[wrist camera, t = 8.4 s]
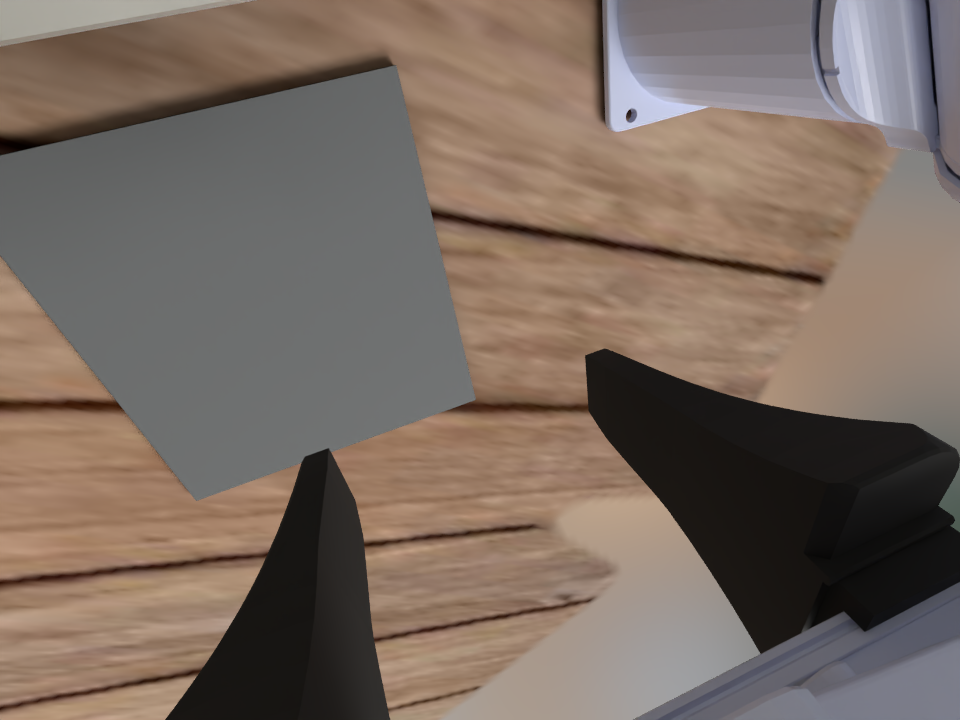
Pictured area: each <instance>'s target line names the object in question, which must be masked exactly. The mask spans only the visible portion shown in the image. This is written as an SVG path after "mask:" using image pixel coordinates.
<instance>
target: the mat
mask: <svg viewBox="0 0 960 720" xmlns="http://www.w3.org/2000/svg"><path fill="white" fill-rule="evenodd" d="M0 256H1V257H2V258H3V259H4V261H5V262H6V263H7V264H8V266H9V267H10V268H11V269H12V271H13V272H14V273H15V275H16V276H17V277H18V278H19V280H20V281H21V282H22V283H23V285H24V286H25V287H26V288H27V290H28V291H29V292H30V293H31V295H32V296H33V297H34V298H35V300H36V301H37V302H38V303H39V305H40V306H41V307H42V308H43V310H44V311H45V312H46V313H47V315H48V316H49V317H50V318H51V320H52V321H53V322H54V323H55V325H56V326H57V327H58V328H59V330H60V331H61V332H62V333H63V335H64V336H65V337H66V338H67V340H68V341H69V342H70V343H71V345H72V346H73V347H74V348H75V350H76V351H77V352H78V353H79V355H80V356H81V357H82V358H83V360H84V361H85V362H86V363H87V365H88V366H89V367H90V368H91V370H92V371H93V372H94V373H95V375H96V376H97V377H98V378H99V380H100V381H101V382H102V383H103V385H104V386H105V387H106V388H107V390H108V391H109V392H110V393H111V395H112V396H113V397H114V398H115V400H116V401H117V402H118V403H119V405H120V406H121V407H122V408H123V410H124V411H125V412H126V413H127V415H128V416H129V417H130V418H131V420H132V421H133V422H134V423H135V425H136V426H137V427H138V428H139V430H140V431H141V432H142V433H143V435H144V436H145V437H146V439H147V440H148V441H149V442H150V444H151V445H152V446H153V447H154V449H155V450H156V451H157V452H158V454H159V455H160V456H161V457H162V459H163V460H164V461H165V462H166V464H167V465H168V466H169V467H170V469H171V470H172V471H173V472H174V474H175V475H176V476H177V477H178V479H179V480H180V481H181V482H182V484H183V485H184V486H185V487H186V489H187V490H188V491H189V492H190V494H191V495H192V496H193V497H194V499H195V500H196V501H197V500H200V499H203V498H206V497H208V496H211V495H214V494H217V493H219V492H222V491H225V490H228V489H230V488H233V487H236V486H239V485H241V484H244V483H247V482H250V481H252V480H255V479H258V478H261V477H264V476H266V475H269V474H272V473H275V472H277V471H280V470H283V469H286V468H288V467H291V466H294V465H297V464H299V463H302V461H303V459H304V457H305V456H308V455H311V454H313V453H316V452H319V451H322V450H324V449H327V448H329V449H330V451H331V452H333V451H335V450H338V449H341V448H344V447H346V446H349V445H352V444H355V443H357V442H360V441H363V440H366V439H368V438H371V437H374V436H377V435H380V434H382V433H385V432H388V431H391V430H393V429H396V428H399V427H402V426H404V425H407V424H410V423H413V422H415V421H418V420H421V419H424V418H426V417H429V416H432V415H435V414H438V413H440V412H443V411H446V410H449V409H451V408H454V407H457V406H460V405H462V404H465V403H468V402H471V401H473V400H476V399H475V394H474V390H473V386H472V382H471V378H470V374H469V369H468V365H467V361H466V357H465V353H464V348H463V344H462V340H461V336H460V332H459V327H458V323H457V319H456V315H455V311H454V306H453V302H452V298H451V294H450V290H449V285H448V281H447V277H446V273H445V269H444V264H443V260H442V256H441V252H440V248H439V243H438V239H437V235H436V231H435V227H434V222H433V218H432V214H431V210H430V206H429V201H428V197H427V193H426V189H425V185H424V180H423V176H422V172H421V168H420V164H419V159H418V155H417V151H416V147H415V143H414V138H413V134H412V130H411V126H410V122H409V117H408V113H407V109H406V105H405V101H404V96H403V92H402V88H401V84H400V80H399V75H398V71H397V67H396V65H393V66H389V67H385V68H380V69H376V70H371V71H367V72H363V73H358V74H354V75H350V76H345V77H341V78H336V79H332V80H328V81H323V82H319V83H314V84H310V85H306V86H301V87H297V88H293V89H288V90H284V91H279V92H275V93H271V94H266V95H262V96H257V97H253V98H249V99H244V100H240V101H236V102H231V103H227V104H222V105H218V106H214V107H209V108H205V109H200V110H196V111H192V112H187V113H183V114H179V115H174V116H170V117H165V118H161V119H157V120H152V121H148V122H143V123H139V124H135V125H130V126H126V127H122V128H117V129H113V130H108V131H104V132H100V133H95V134H91V135H87V136H82V137H78V138H73V139H69V140H65V141H60V142H56V143H51V144H47V145H43V146H38V147H34V148H30V149H25V150H21V151H16V152H12V153H8V154H3V155H0Z"/></svg>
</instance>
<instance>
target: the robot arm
mask: <svg viewBox="0 0 960 720" xmlns="http://www.w3.org/2000/svg"><path fill="white" fill-rule="evenodd" d="M602 10H603V49H604V89H605V122H606V126H607V127H608V129H610V130H611V131H615V132H620V131H624V130H628V129H631V128H635V127H639V126H642V125H646V124H649V123H653V122H657V121H660V120H664V119H668V118H671V117H675V116H679V115H682V114H686V113H689V112H693V111H697V110H700V109H704V108H708V107H716V108H725V109H734V110H743V111H753V112H762V113H771V114H780V115H790V116H799V117H808V118H817V119H827V120H836V121H845V122H854V123H863V124H869V125H872V126H876V127H877V128H879V129H880V130H881V131H882V133H883V134H884V136H885V139H886V143H887V145H888V146H890V147H897V148H904V149H911V150H918V151H925V152H933V159H934V168H935V174H936V176H937V178H938V181H939V183H940V185H941V186H942V188H943V189H944V190H945V191H946V192H947V193H948V194H949V195H950V196H951V197H952V198H953V199H955V200H956V201H958V202H959V203H960V0H602ZM630 109H631V113H632V114H631V118H630V119H629V120H628V121H626V113H627V112H628V110H630ZM585 360H586V375H587V391H588V407H589V412H590V414H591V415H592V417H593V418H594V420H595V422H596V423H597V425H598V426H599V428H600V429H601V431H602V432H603V434H604V435H605V437H606V438H607V439H608V441H609V442H610V443H611V444H612V445H613V447H614V448H615V449H616V450H617V451H618V452H619V454H620V455H621V456H622V457H623V458H624V459H625V460H626V462H627V463H628V464H629V465H630V466H631V467H632V468H633V470H634V471H635V472H636V473H637V474H638V475H639V476H640V478H641V479H642V480H643V481H644V482H645V483H646V484H647V486H648V487H649V488H650V489H651V490H652V491H653V492H654V494H655V495H656V496H657V497H658V498H659V499H660V501H661V502H662V503H663V504H664V506H665V507H666V508H667V509H668V511H669V512H670V513H671V515H672V516H673V518H674V519H675V521H676V522H677V523H678V525H679V526H680V527H681V529H682V530H683V532H684V533H685V535H686V536H687V537H688V539H689V540H690V542H691V543H692V545H693V546H694V548H695V549H696V551H697V552H698V554H699V555H700V557H701V558H702V560H703V561H704V563H705V564H706V566H707V567H708V569H709V570H710V572H711V573H712V575H713V576H714V578H715V579H716V581H717V583H718V584H719V586H720V587H721V589H722V591H723V592H724V594H725V595H726V597H727V598H728V600H729V602H730V603H731V604H732V606H733V608H734V610H735V611H736V613H737V615H738V616H739V618H740V620H741V621H742V623H743V625H744V626H745V628H746V630H747V631H748V633H749V635H750V636H751V638H752V639H753V641H754V643H755V645H756V647H757V648H758V650H759V652H760V653H761V654H760V655H758V656H756V657H754V658H752V659H750V660H748V661H746V662H744V663H742V664H740V665H739V666H737V667H734V668H733V669H731V670H729V671H727V672H725V673H723V674H721V675H719V676H717V677H715V678H713V679H711V680H709V681H707V682H705V683H703V684H701V685H700V686H698V687H696V688H694V689H692V690H690V691H688V692H686V693H684V694H682V695H680V696H678V697H676V698H674V699H672V700H670V701H669V702H666V703H664V704H663V705H661V706H659V707H657V708H655V709H653V710H651V711H649V712H647V713H645V714H643V715H641V716H640V717H637V718H635V719H633V720H960V532H958V531H957V530H955V529H954V528H952V527H951V526H950V525H952V524H953V523H954V521H955V519H954V517H953V516H952V515H950V514H949V513H948V512H946V511H945V510H943V509H942V508H940V507H939V506H938V505H939V503H940V501H941V500H942V498H943V496H944V494H945V493H946V491H947V489H948V488H949V486H950V484H951V482H952V481H953V479H954V477H955V475H956V473H957V471H958V468H959V463H960V457H959V454H958V452H957V450H956V449H955V448H953V447H952V446H950V445H948V444H947V443H945V442H943V441H942V440H940V439H938V438H936V437H935V436H933V435H931V434H930V433H928V432H926V431H924V430H923V429H921V428H919V427H917V426H916V425H914V424H908V423H895V422H882V421H870V420H858V419H849V418H841V417H834V416H826V415H819V414H812V413H806V412H800V411H794V410H790V409H784V408H780V407H775V406H769V405H766V404H761V403H757V402H753V401H749V400H745V399H741V398H738V397H734V396H730V395H727V394H723V393H720V392H717V391H714V390H711V389H708V388H705V387H702V386H699V385H696V384H693V383H690V382H687V381H685V380H682V379H679V378H677V377H674V376H671V375H669V374H666V373H664V372H661V371H659V370H656V369H654V368H651V367H649V366H647V365H644V364H642V363H639V362H637V361H635V360H632V359H630V358H628V357H625V356H623V355H620V354H618V353H615V352H613V351H610V350H608V349H602V350H599V351H596V352H594V353H591V354H588V355H585ZM165 720H390V718H389V713H388V708H387V703H386V698H385V693H384V689H383V684H382V679H381V674H380V669H379V664H378V658H377V653H376V648H375V643H374V638H373V630H372V623H371V614H370V603H369V592H368V581H367V570H366V560H365V550H364V540H363V533H362V528H361V524H360V519H359V515H358V510H357V506H356V502H355V499H354V497H353V495H352V493H351V491H350V489H349V487H348V485H347V483H346V481H345V479H344V477H343V475H342V473H341V471H340V469H339V467H338V465H337V463H336V461H335V459H334V457H333V455H332V453H331V451H330V449H329V448H327V449H324V450H322V451H319V452H316V453H313V454H311V455H308V456H305V457H304V459H303V461H302V463H301V467H300V470H299V473H298V476H297V479H296V483H295V486H294V489H293V492H292V494H291V497H290V500H289V503H288V506H287V508H286V511H285V514H284V516H283V519H282V521H281V524H280V527H279V529H278V532H277V534H276V536H275V539H274V541H273V543H272V545H271V548H270V550H269V552H268V554H267V557H266V559H265V561H264V563H263V566H262V568H261V570H260V572H259V574H258V576H257V578H256V580H255V582H254V584H253V586H252V588H251V590H250V591H249V593H248V595H247V597H246V599H245V601H244V602H243V604H242V606H241V608H240V610H239V611H238V613H237V615H236V616H235V618H234V620H233V621H232V623H231V625H230V626H229V628H228V630H227V631H226V633H225V635H224V636H223V638H222V640H221V641H220V643H219V644H218V646H217V648H216V649H215V651H214V652H213V654H212V655H211V657H210V658H209V660H208V661H207V663H206V664H205V666H204V667H203V668H202V670H201V671H200V673H199V674H198V676H197V677H196V678H195V680H194V681H193V683H192V684H191V686H190V687H189V688H188V690H187V691H186V693H185V694H184V695H183V697H182V698H181V699H180V701H179V702H178V704H177V705H176V706H175V708H174V709H173V710H172V711H171V713H170V714H169V715H168V717H167V718H166V719H165Z"/></svg>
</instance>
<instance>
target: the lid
mask: <svg viewBox="0 0 960 720" xmlns="http://www.w3.org/2000/svg"><path fill="white" fill-rule="evenodd" d="M249 1H255V0H0V47H1V46H6V45H12V44H17V43H23V42H28V41H34V40H39V39H45V38H50V37H56V36H61V35H67V34H72V33H78V32H83V31H89V30H94V29H100V28H106V27H111V26H117V25H122V24H128V23H133V22H139V21H144V20H150V19H155V18H161V17H166V16H172V15H177V14H183V13H188V12H194V11H199V10H205V9H210V8H216V7H221V6H227V5H233V4H238V3H244V2H249Z"/></svg>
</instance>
